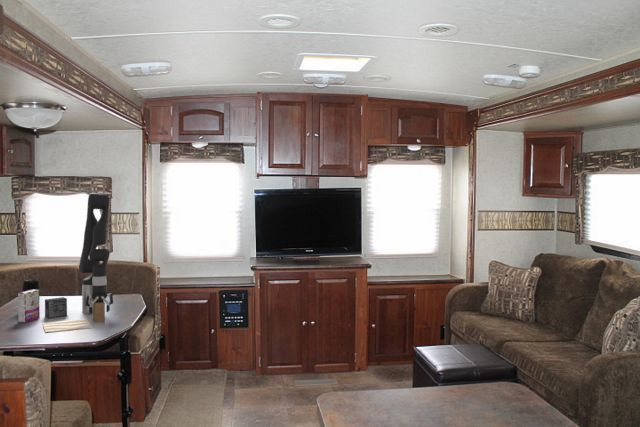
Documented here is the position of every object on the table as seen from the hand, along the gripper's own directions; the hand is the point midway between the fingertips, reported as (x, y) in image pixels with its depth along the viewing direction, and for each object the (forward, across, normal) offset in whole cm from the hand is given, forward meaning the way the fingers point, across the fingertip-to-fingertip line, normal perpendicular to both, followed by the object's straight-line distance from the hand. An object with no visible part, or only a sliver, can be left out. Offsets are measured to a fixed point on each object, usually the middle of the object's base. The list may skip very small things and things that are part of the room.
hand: (99, 312), depth 301 cm
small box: (+5, +20, -23) cm, 31 cm away
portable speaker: (+4, +32, -43) cm, 53 cm away
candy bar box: (+5, +34, -20) cm, 40 cm away
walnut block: (+5, 0, 0) cm, 5 cm away
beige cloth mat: (+5, +17, +4) cm, 19 cm away
